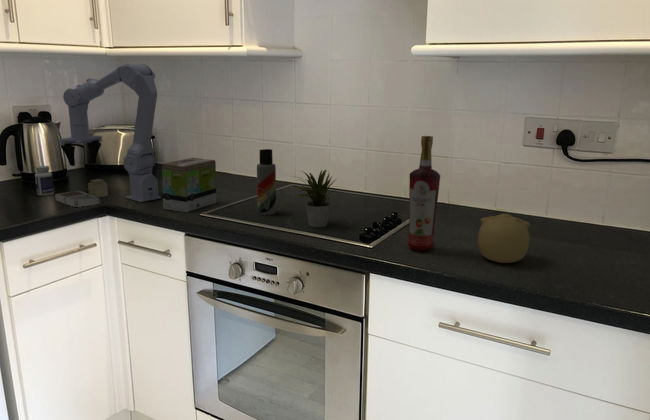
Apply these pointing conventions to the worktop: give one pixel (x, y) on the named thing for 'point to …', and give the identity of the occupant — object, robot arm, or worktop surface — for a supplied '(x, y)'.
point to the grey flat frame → (77, 199)
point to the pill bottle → (44, 181)
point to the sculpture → (503, 238)
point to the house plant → (317, 199)
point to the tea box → (189, 184)
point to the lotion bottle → (266, 183)
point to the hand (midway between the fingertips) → (82, 164)
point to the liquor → (423, 200)
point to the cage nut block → (98, 188)
